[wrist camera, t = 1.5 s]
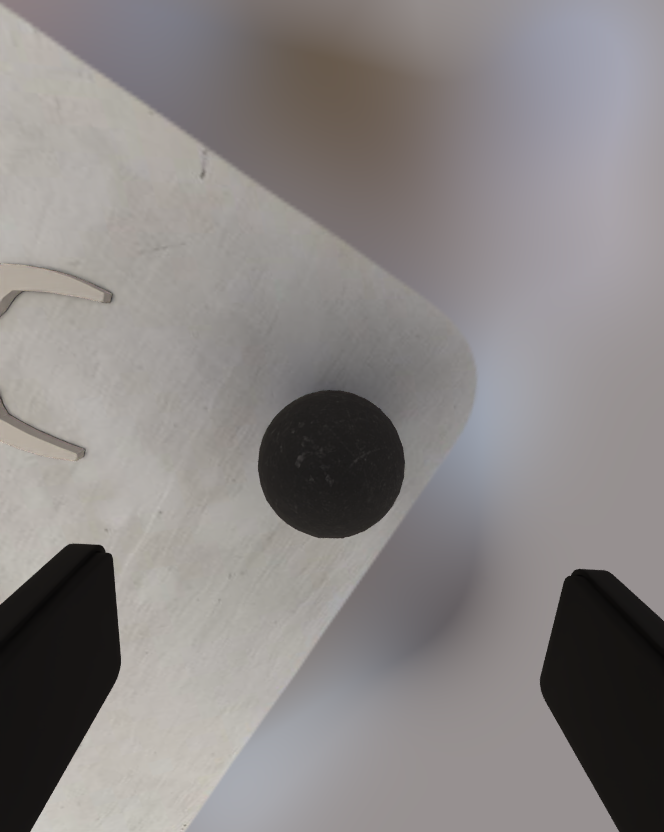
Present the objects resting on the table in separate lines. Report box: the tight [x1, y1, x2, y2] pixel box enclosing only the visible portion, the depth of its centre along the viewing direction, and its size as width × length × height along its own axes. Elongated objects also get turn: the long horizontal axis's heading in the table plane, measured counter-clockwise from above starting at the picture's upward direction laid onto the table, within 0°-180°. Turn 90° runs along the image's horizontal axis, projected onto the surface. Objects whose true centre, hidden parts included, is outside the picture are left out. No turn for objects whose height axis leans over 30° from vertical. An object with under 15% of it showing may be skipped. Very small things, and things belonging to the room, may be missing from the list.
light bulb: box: [258, 390, 405, 538], centre depth 17 cm, size 6×6×10 cm
